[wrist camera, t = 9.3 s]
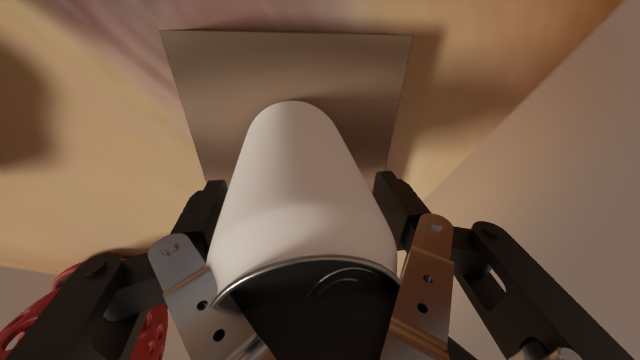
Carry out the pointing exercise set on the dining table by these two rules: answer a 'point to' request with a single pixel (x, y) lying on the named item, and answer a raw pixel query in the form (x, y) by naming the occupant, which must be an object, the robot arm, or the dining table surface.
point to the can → (298, 216)
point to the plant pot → (147, 345)
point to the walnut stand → (287, 87)
